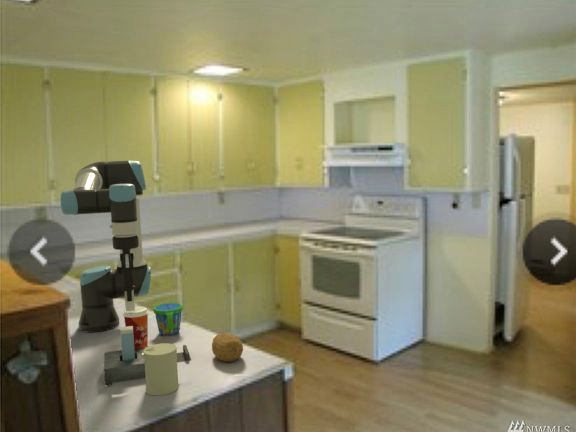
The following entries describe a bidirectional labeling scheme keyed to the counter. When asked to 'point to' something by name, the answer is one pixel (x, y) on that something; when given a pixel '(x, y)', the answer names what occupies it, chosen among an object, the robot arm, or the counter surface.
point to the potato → (227, 347)
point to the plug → (127, 343)
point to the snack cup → (168, 318)
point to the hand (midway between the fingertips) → (130, 310)
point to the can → (161, 369)
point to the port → (123, 366)
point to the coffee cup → (138, 325)
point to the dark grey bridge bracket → (183, 355)
